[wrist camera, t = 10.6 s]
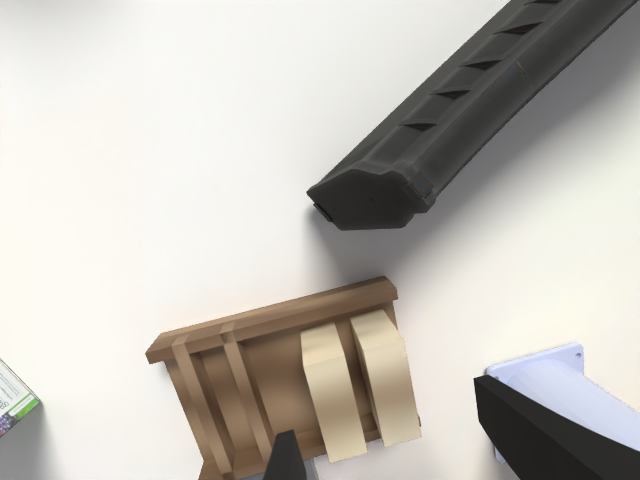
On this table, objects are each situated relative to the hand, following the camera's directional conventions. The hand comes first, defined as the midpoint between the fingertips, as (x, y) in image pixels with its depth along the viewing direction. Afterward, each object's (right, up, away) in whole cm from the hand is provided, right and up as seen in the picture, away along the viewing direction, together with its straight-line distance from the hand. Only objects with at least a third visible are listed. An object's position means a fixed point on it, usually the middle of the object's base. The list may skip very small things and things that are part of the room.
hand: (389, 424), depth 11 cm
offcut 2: (+1, -1, +10) cm, 11 cm away
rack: (-5, -3, +11) cm, 12 cm away
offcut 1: (-2, -2, +10) cm, 11 cm away
